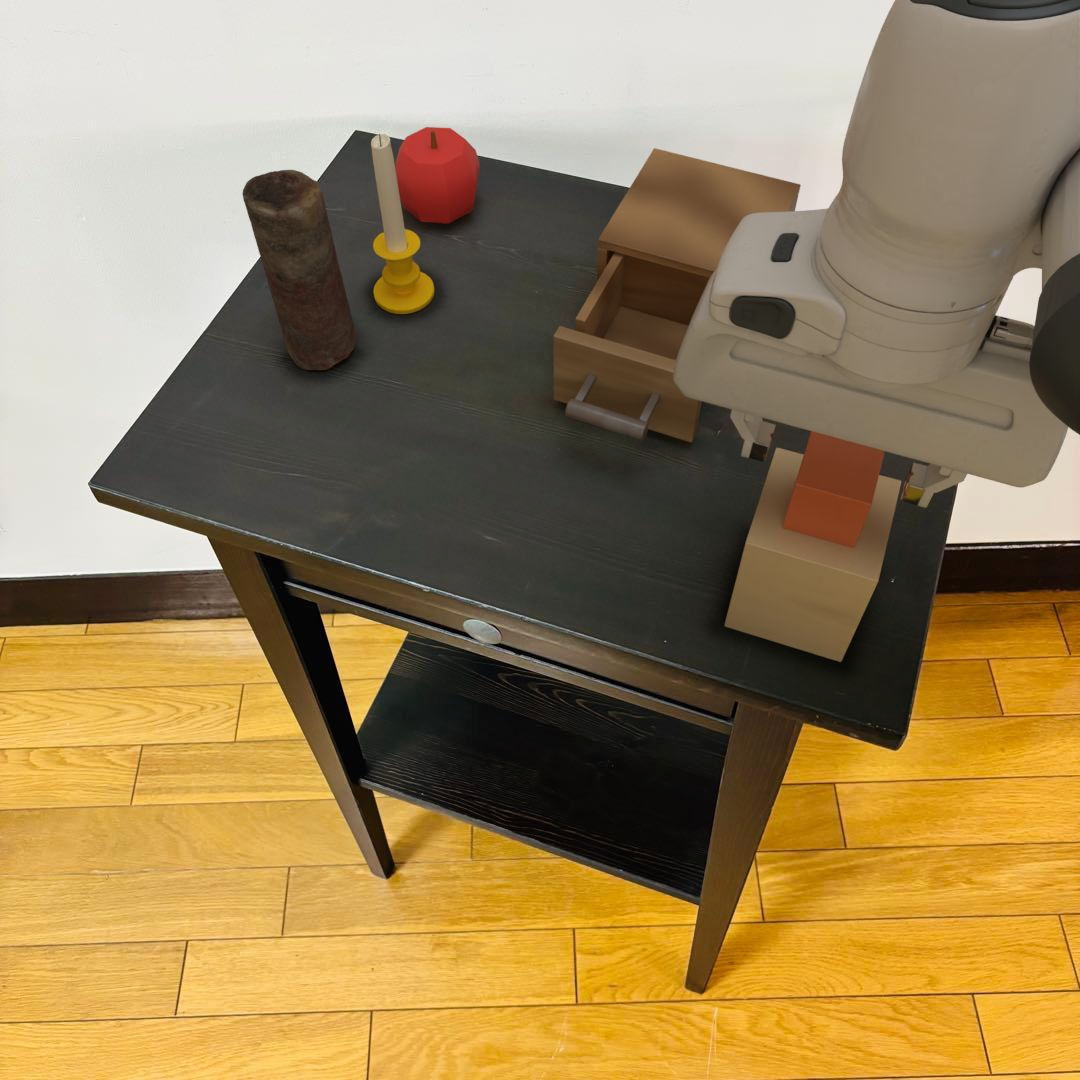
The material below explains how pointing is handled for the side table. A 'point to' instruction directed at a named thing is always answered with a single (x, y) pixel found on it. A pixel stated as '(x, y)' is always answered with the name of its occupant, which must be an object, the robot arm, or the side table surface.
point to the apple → (437, 175)
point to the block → (833, 489)
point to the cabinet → (688, 211)
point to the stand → (807, 570)
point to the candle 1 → (301, 267)
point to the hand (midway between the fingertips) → (833, 473)
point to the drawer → (630, 351)
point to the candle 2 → (396, 242)
